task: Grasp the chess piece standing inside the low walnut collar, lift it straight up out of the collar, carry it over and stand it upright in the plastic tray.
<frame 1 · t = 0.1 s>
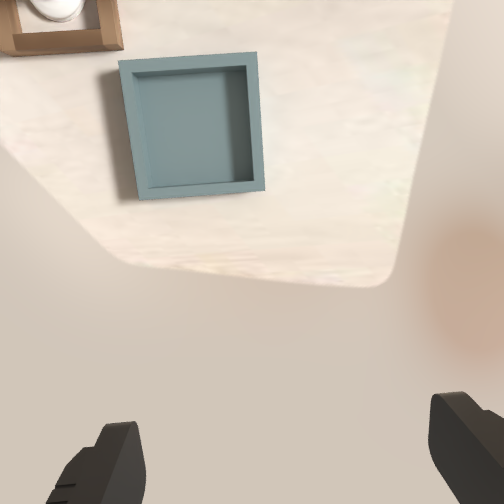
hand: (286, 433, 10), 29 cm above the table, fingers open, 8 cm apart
tray: (198, 130, 35), on the table
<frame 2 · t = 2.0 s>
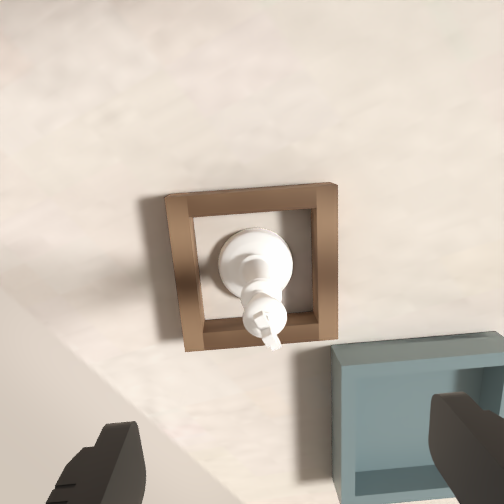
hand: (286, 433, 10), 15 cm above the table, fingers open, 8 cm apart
chess piece: (255, 263, 24), resting in collar
tray: (409, 408, 28), on the table
collar: (255, 264, 24), on the table
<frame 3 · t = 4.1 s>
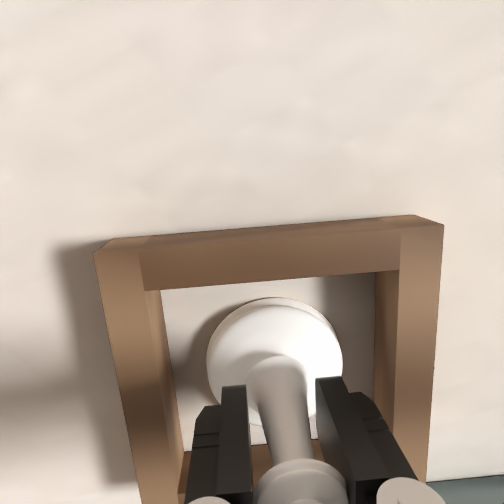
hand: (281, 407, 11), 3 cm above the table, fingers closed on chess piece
chess piece: (272, 356, 13), resting in collar, touching gripper
collar: (273, 359, 13), on the table
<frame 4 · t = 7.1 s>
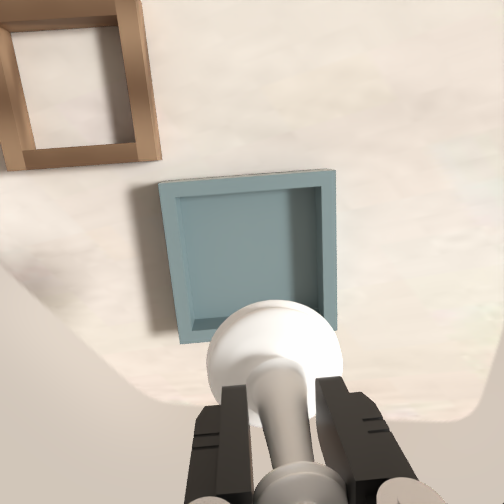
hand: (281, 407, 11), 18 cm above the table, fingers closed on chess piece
chess piece: (273, 358, 13), point 15 cm above the table, touching gripper
tray: (251, 252, 28), on the table
collar: (79, 90, 25), on the table
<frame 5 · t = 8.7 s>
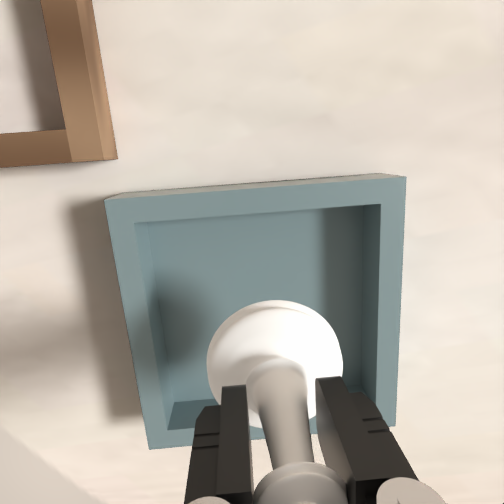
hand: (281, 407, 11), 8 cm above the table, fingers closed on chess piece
chess piece: (273, 358, 13), point 5 cm above the table, touching gripper
tray: (261, 302, 18), on the table
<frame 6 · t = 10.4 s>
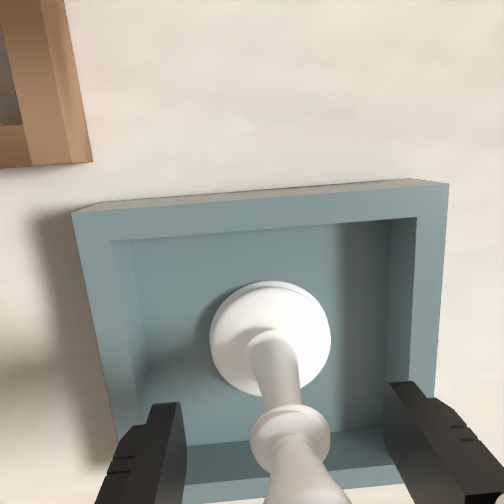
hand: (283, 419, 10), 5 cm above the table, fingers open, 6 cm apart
chess piece: (269, 334, 15), resting on tray
tray: (266, 330, 15), on the table
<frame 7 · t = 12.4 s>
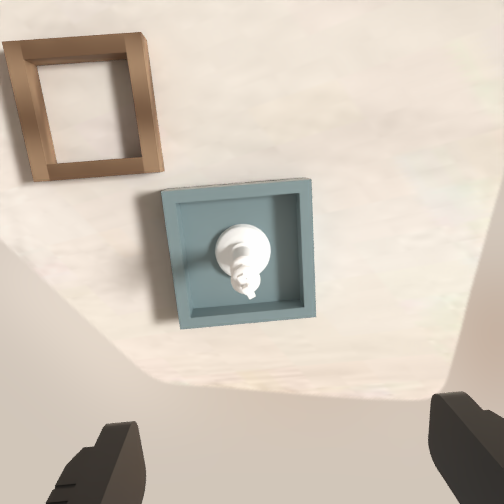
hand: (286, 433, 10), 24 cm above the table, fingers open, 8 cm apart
chess piece: (242, 250, 32), resting on tray
tray: (242, 250, 33), on the table
collar: (94, 113, 29), on the table
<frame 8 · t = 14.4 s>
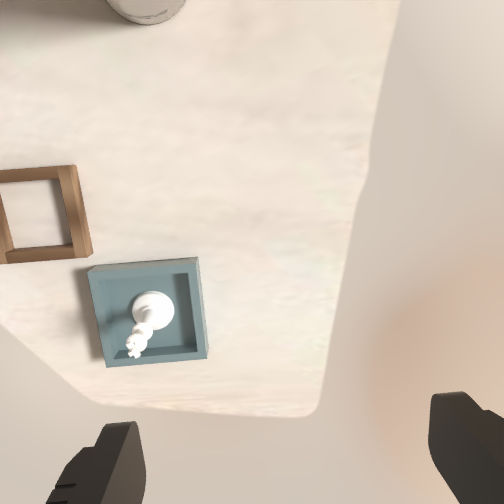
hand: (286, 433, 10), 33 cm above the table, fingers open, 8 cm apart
chess piece: (154, 308, 44), resting on tray
tray: (154, 308, 44), on the table
collar: (40, 213, 40), on the table
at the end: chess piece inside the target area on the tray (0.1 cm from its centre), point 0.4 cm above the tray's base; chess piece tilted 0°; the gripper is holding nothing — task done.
